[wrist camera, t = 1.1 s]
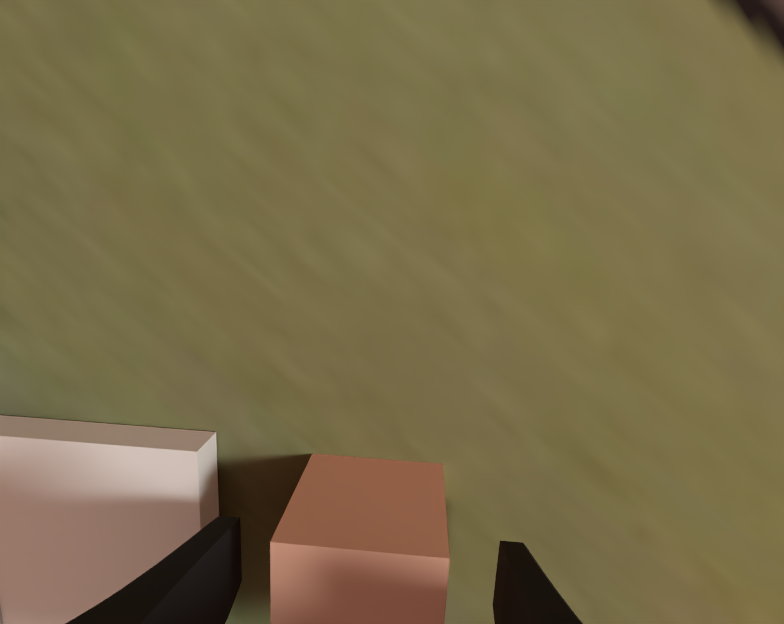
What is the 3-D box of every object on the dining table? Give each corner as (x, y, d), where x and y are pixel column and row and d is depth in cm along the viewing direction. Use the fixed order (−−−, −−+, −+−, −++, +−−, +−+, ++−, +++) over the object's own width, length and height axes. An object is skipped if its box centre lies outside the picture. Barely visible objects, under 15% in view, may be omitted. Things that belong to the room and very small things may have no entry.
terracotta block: (433, 575, 15) (437, 705, 11) (311, 563, 15) (271, 686, 11) (442, 462, 14) (449, 558, 10) (312, 451, 14) (270, 541, 10)
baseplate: (226, 713, 16) (210, 755, 15) (-137, 672, 17) (-181, 708, 16) (216, 432, 14) (195, 453, 13) (-203, 399, 15) (-261, 416, 13)
